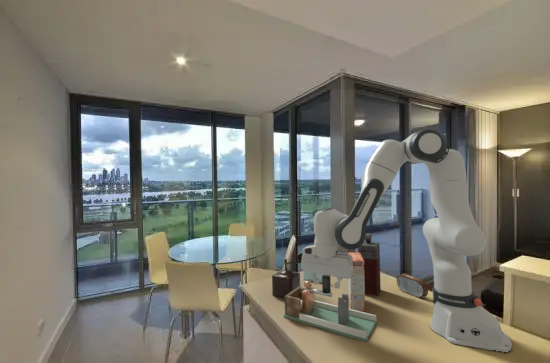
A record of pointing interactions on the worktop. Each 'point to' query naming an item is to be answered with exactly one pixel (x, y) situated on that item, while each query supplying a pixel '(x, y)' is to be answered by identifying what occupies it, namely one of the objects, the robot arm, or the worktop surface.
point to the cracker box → (357, 284)
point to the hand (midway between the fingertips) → (326, 285)
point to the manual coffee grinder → (286, 279)
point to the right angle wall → (308, 276)
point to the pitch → (339, 319)
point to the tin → (412, 285)
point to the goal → (293, 302)
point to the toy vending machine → (371, 265)
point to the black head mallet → (309, 293)
